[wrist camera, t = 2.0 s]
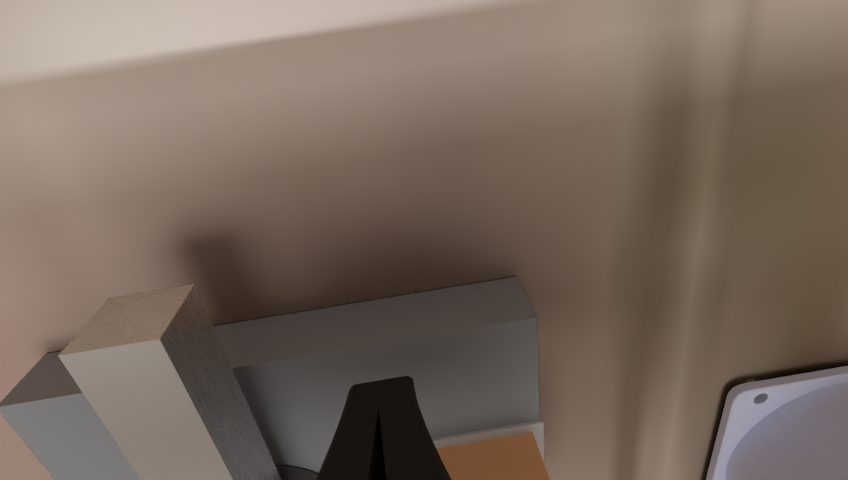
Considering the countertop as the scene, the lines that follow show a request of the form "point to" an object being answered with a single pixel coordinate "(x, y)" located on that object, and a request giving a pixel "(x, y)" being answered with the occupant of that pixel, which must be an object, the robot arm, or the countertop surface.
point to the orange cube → (495, 459)
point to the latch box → (328, 378)
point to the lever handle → (168, 389)
